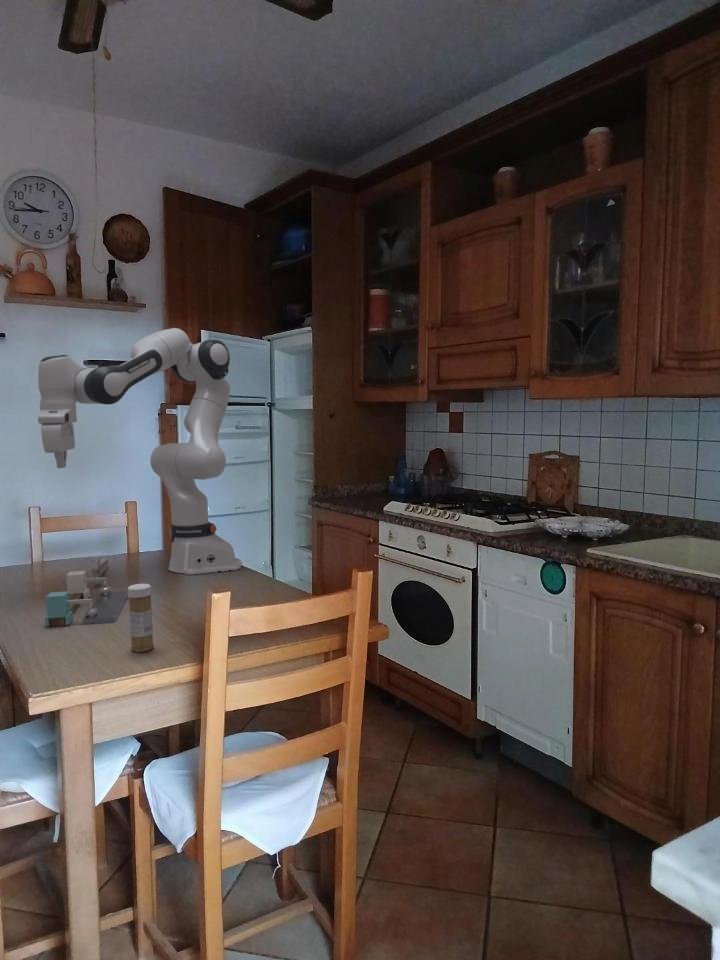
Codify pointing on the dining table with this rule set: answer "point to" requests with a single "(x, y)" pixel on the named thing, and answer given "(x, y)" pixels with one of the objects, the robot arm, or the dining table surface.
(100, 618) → the bolt plate
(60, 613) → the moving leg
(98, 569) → the wrench
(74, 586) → the fixed leg
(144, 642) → the sprinkles bottle
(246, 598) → the dining table surface
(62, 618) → the rail
